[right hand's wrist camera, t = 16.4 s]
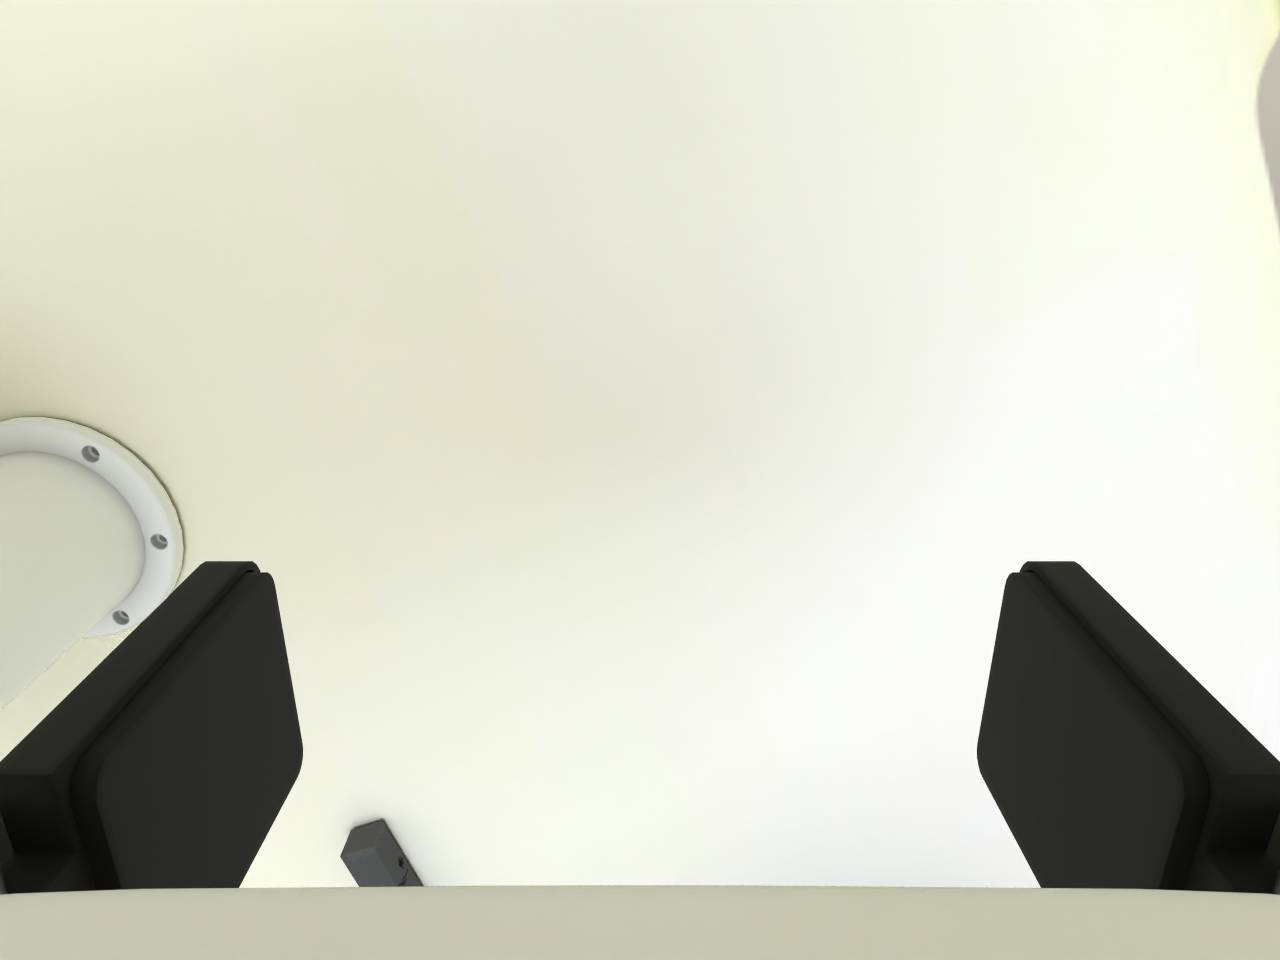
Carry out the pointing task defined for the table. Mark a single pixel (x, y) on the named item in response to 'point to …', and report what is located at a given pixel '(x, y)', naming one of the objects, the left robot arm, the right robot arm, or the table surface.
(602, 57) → the table surface
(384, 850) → the pillar
